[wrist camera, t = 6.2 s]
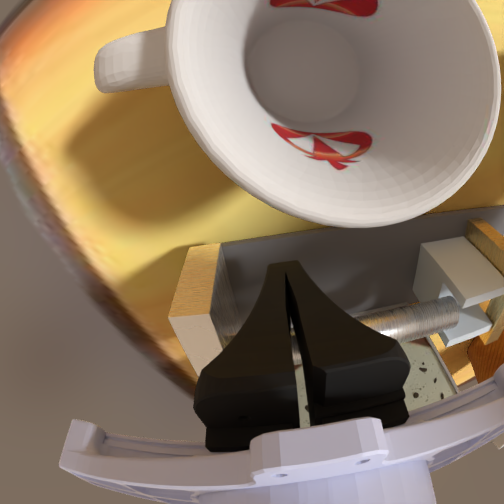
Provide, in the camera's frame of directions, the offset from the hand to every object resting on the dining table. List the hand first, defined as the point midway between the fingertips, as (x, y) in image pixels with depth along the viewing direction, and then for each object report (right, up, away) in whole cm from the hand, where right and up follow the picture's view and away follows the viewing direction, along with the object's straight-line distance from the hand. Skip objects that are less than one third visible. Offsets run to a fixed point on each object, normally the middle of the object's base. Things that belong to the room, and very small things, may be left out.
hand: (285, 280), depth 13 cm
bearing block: (+11, +1, +3) cm, 11 cm away
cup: (-1, +9, -2) cm, 10 cm away
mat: (+7, 0, +4) cm, 8 cm away
